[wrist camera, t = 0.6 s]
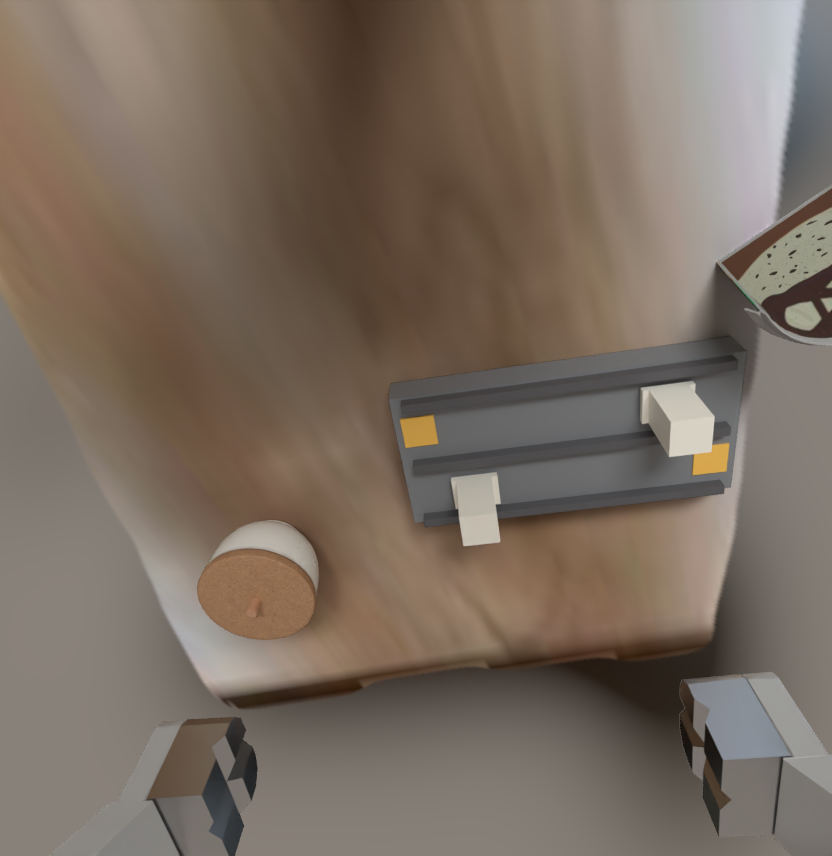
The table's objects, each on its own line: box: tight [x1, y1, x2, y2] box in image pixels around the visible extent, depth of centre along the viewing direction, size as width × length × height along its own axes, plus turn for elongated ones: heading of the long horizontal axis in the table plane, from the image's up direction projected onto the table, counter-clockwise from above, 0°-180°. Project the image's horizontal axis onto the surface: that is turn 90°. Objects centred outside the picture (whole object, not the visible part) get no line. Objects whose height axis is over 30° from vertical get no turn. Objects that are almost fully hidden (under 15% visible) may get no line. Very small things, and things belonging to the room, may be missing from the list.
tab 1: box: [451, 472, 501, 546], centre depth 51 cm, size 3×4×6 cm
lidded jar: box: [197, 520, 319, 640], centre depth 57 cm, size 11×11×9 cm
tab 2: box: [640, 381, 715, 457], centre depth 46 cm, size 3×4×6 cm
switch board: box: [389, 337, 747, 527], centre depth 52 cm, size 13×28×4 cm, turn 99°
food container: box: [716, 185, 832, 345], centre depth 41 cm, size 12×6×10 cm, turn 130°
